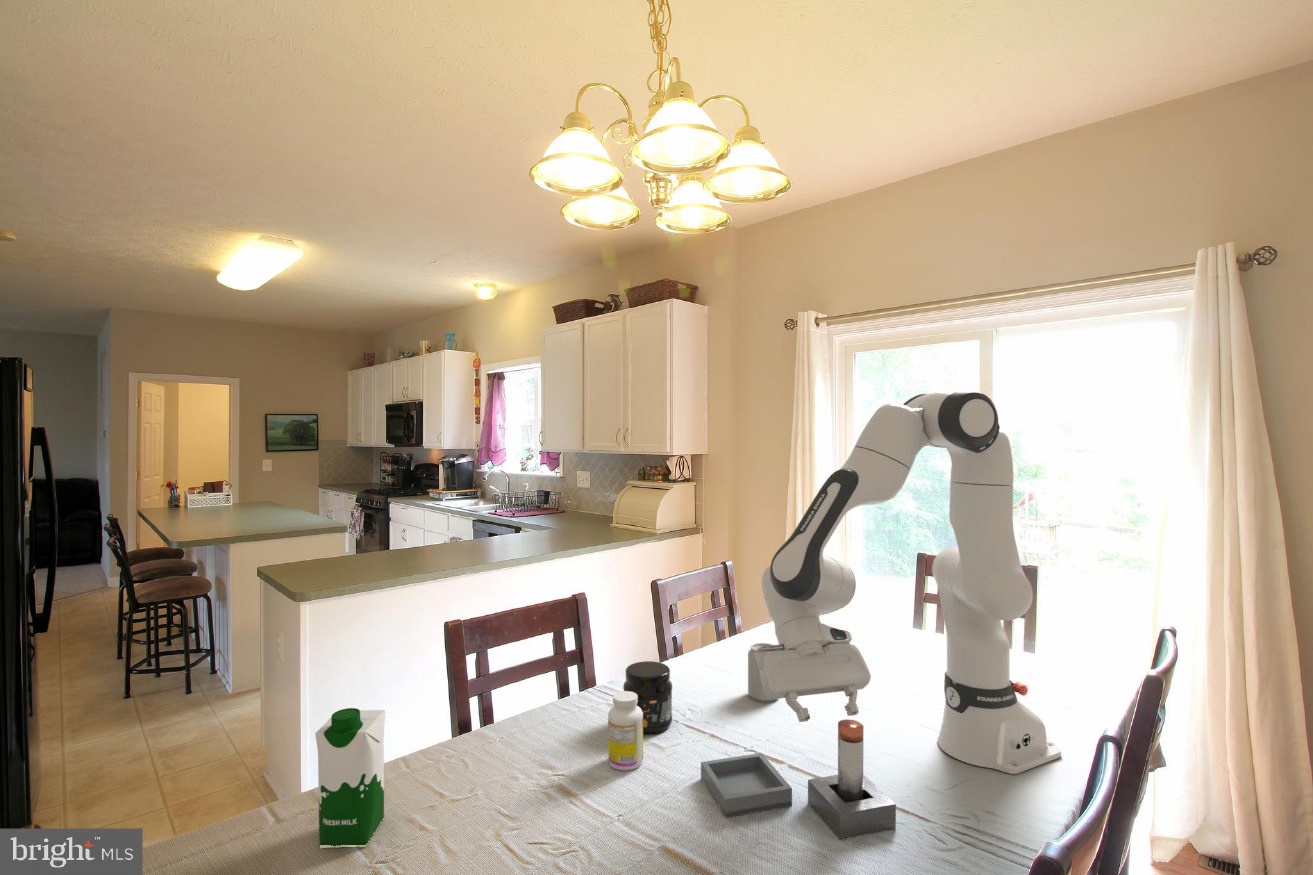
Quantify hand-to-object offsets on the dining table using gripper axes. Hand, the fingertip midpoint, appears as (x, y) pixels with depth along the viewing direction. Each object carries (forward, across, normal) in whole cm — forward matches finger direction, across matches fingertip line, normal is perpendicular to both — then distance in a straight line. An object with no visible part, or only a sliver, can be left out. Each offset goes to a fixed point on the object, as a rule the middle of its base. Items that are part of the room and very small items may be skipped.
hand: (829, 717), depth 110 cm
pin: (+14, 0, +5) cm, 15 cm away
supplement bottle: (-4, -32, +24) cm, 40 cm away
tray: (+6, -14, +13) cm, 20 cm away
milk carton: (+3, -78, +18) cm, 80 cm away
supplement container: (-14, -24, +34) cm, 44 cm away
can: (-18, +6, +38) cm, 43 cm away
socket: (+14, 0, +5) cm, 15 cm away
